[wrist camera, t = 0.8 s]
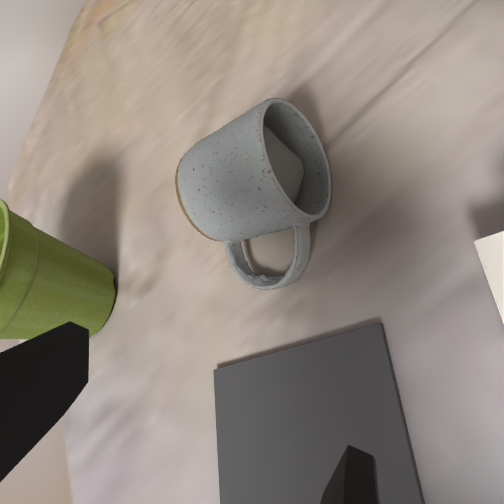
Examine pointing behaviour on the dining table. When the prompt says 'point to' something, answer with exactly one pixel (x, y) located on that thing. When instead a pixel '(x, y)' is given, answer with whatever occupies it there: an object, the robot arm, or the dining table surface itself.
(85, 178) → the dining table surface
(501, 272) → the lid
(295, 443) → the mat
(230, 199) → the ceramic mug
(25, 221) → the plant pot
